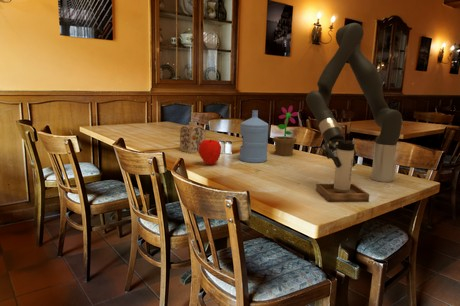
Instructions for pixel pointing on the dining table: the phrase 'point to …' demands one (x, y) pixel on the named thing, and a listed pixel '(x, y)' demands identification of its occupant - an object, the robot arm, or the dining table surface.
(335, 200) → the tray
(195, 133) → the decorative jar
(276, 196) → the dining table surface
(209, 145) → the apple
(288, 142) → the flowerpot
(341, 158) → the travel mug
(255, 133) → the water jug
